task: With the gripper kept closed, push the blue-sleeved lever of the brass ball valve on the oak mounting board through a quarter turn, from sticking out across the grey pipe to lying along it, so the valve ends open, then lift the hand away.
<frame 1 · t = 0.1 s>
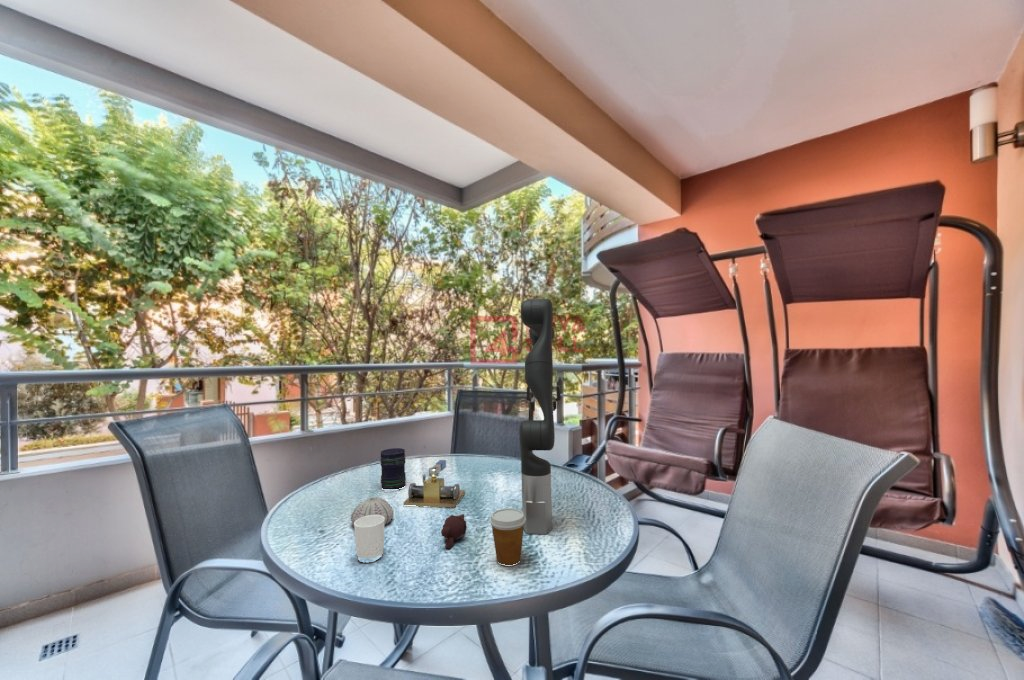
hand: (543, 410, 171), 29 cm above the table, tool pointing down, fingers open, 8 cm apart
valve: (434, 501, 151), on the table
sea urchin shell: (373, 524, 133), on the table
disposable coffee cup: (508, 561, 107), on the table
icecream: (454, 539, 121), on the table
white cup: (370, 558, 111), on the table
lever: (437, 468, 156), point 11 cm above the table, hinge at 0.0°
storage jar: (393, 488, 167), on the table
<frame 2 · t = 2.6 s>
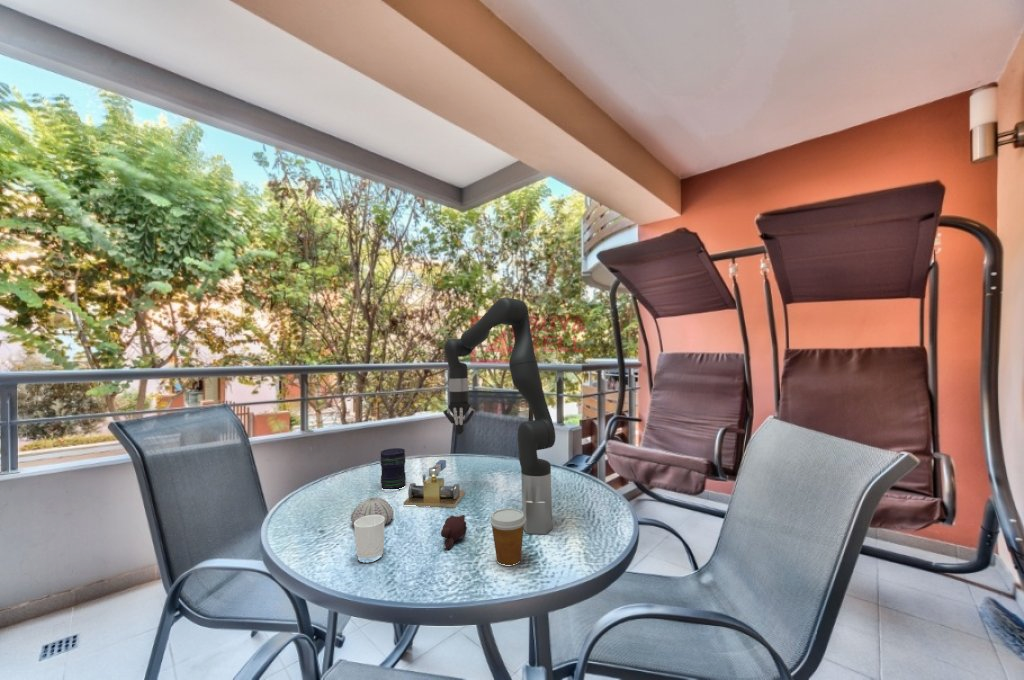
hand: (460, 434, 159), 23 cm above the table, tool pointing down, fingers closed
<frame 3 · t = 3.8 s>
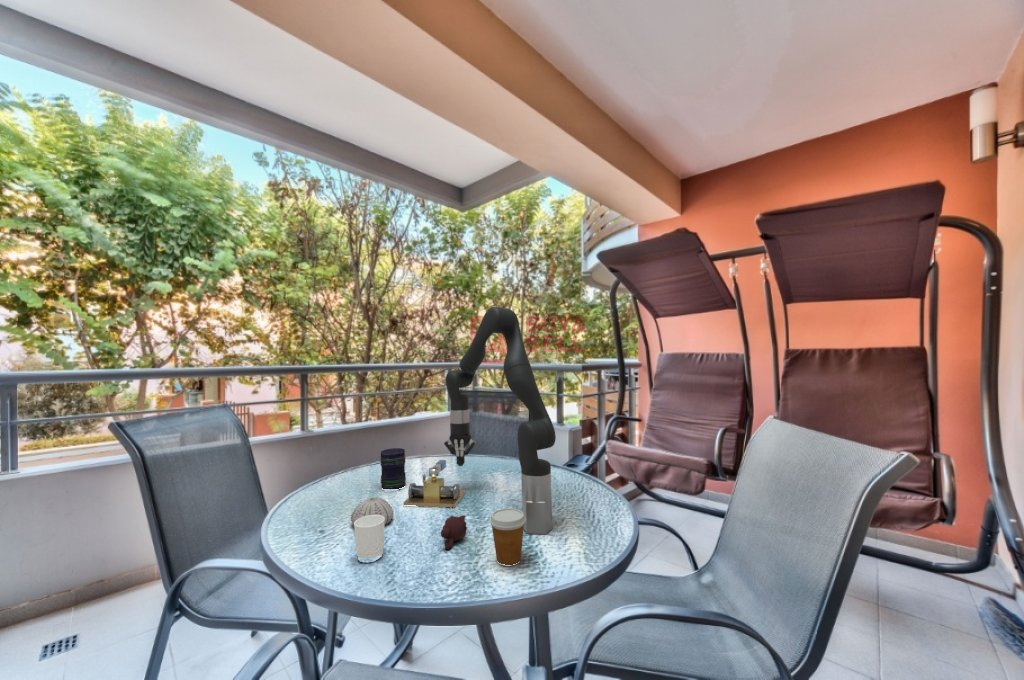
hand: (460, 465, 158), 11 cm above the table, tool pointing down, fingers closed
nothing on the table moved.
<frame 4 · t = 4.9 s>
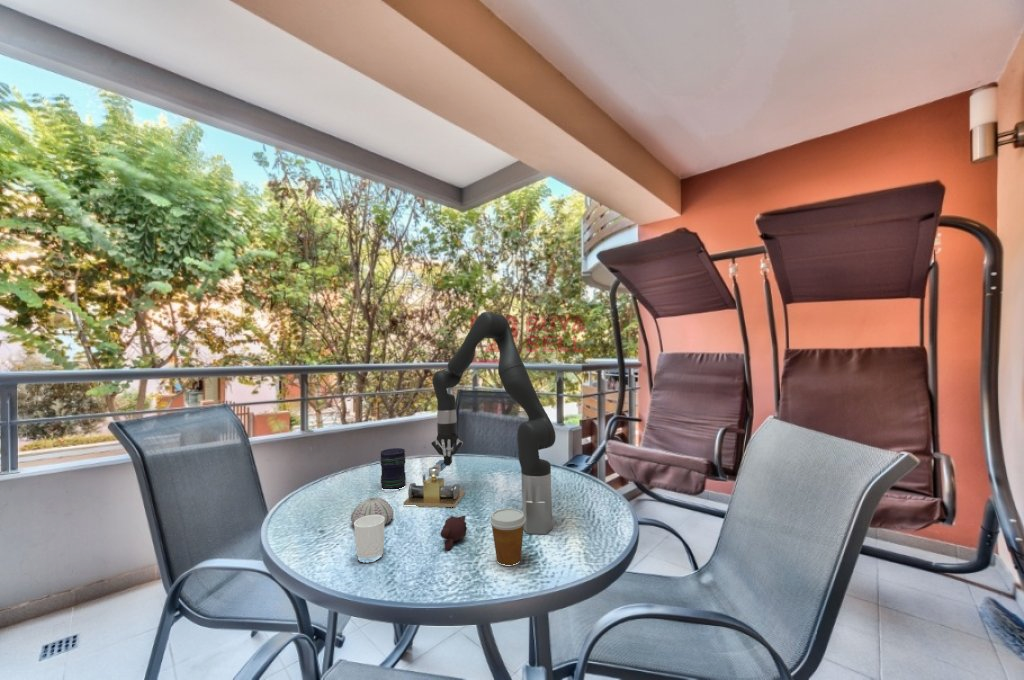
hand: (448, 465, 159), 11 cm above the table, tool pointing down, fingers closed
lever: (437, 468, 156), point 11 cm above the table, hinge at 0.1°, touching gripper
everything else where it was.
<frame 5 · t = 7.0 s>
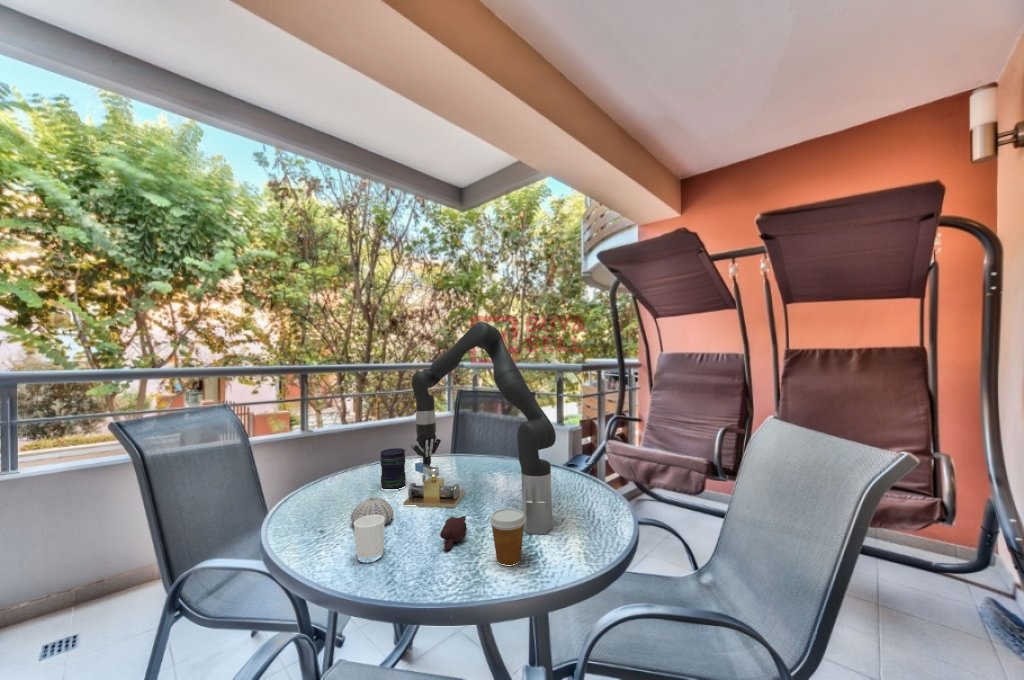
hand: (427, 465, 159), 11 cm above the table, tool pointing down, fingers closed
lever: (426, 469, 154), point 11 cm above the table, hinge at 53.1°, touching gripper
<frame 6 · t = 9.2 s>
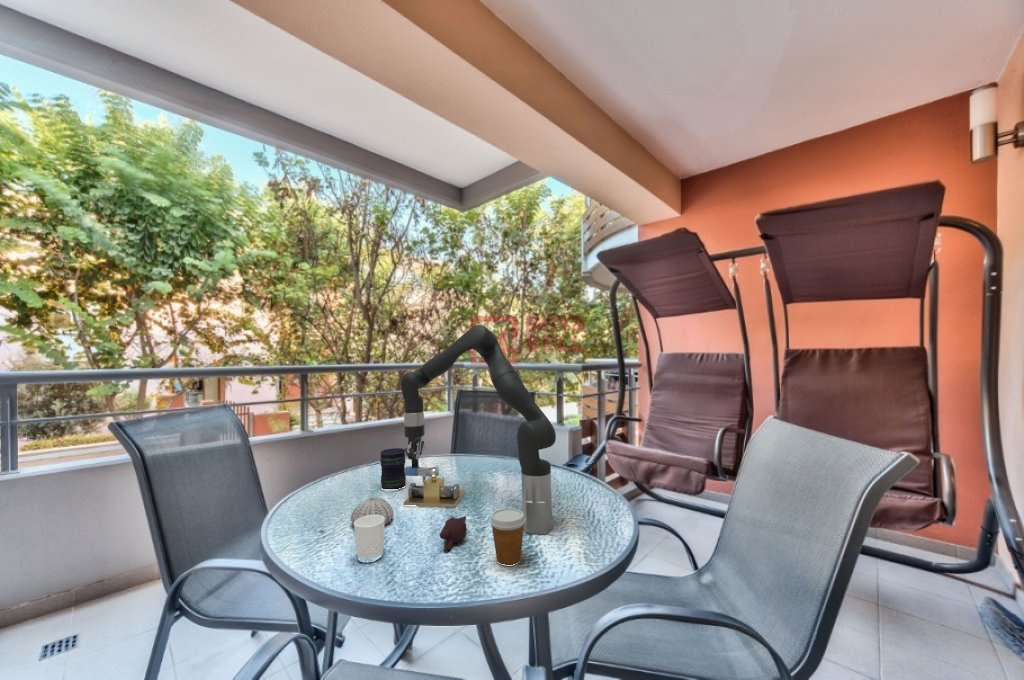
hand: (415, 468, 156), 11 cm above the table, tool pointing down, fingers closed
lever: (422, 471, 152), point 11 cm above the table, hinge at 86.7°, touching gripper
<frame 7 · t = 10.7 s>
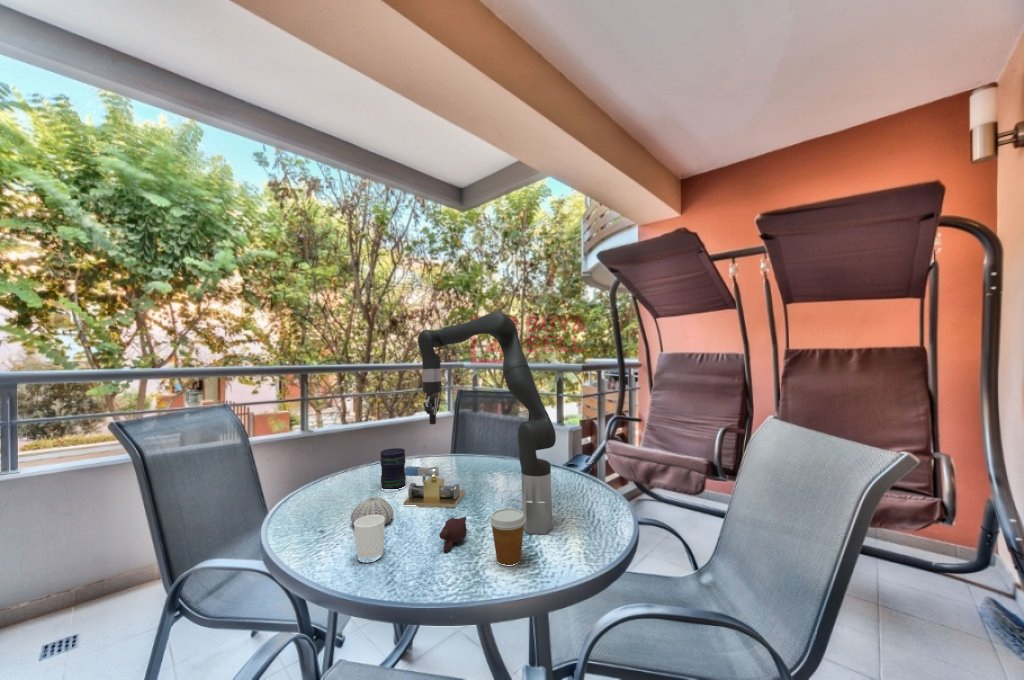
hand: (432, 424, 161), 27 cm above the table, tool pointing down, fingers closed
lever: (422, 471, 152), point 11 cm above the table, hinge at 86.7°
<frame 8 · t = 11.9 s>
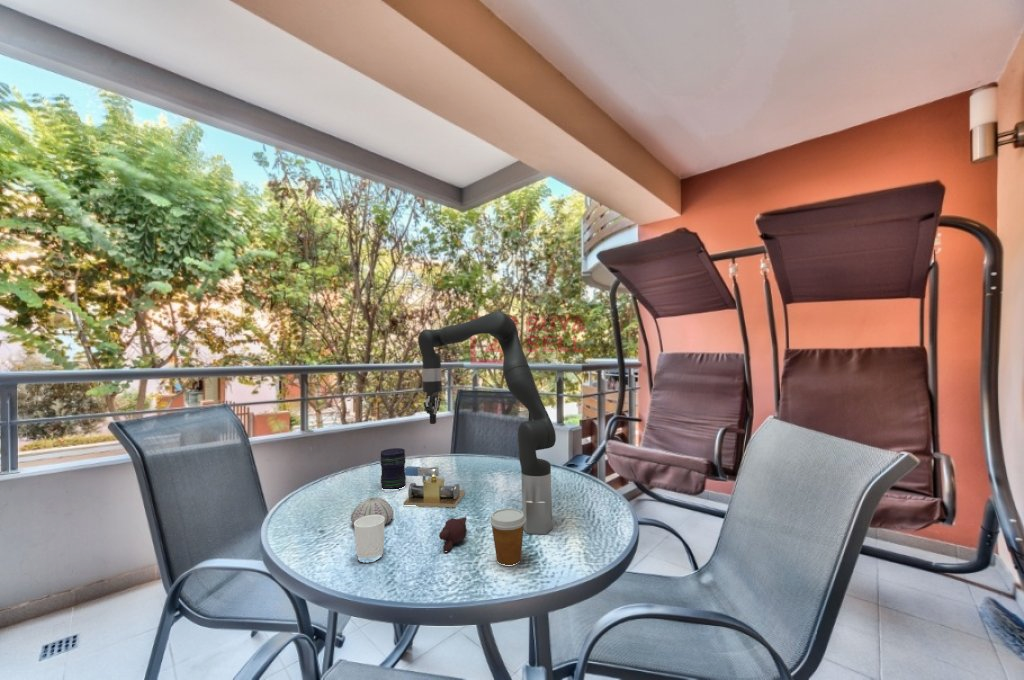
hand: (433, 423, 161), 27 cm above the table, tool pointing down, fingers closed
at the end: lever at +87° (first picture: +0°); lever touching nothing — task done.
